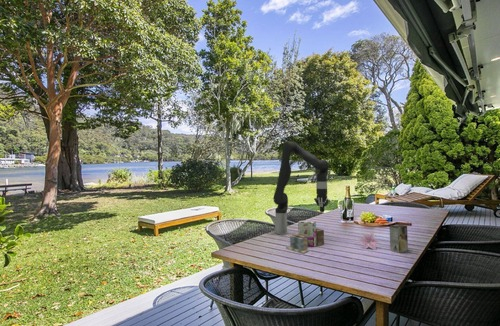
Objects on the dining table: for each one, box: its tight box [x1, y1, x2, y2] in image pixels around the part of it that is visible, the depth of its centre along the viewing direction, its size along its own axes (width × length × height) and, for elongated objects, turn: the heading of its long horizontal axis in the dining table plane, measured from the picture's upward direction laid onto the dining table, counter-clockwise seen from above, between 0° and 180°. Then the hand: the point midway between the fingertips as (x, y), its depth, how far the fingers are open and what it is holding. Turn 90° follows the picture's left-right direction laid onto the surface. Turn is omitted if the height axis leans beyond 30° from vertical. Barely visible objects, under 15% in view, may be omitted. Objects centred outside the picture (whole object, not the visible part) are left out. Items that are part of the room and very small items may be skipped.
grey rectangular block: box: [285, 233, 310, 255], centre depth 193 cm, size 15×27×10 cm, turn 128°
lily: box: [357, 231, 380, 251], centre depth 188 cm, size 12×12×10 cm
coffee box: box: [389, 223, 409, 254], centre depth 181 cm, size 9×6×16 cm
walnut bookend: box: [315, 227, 325, 247], centre depth 196 cm, size 12×6×10 cm, turn 37°
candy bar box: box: [297, 220, 317, 248], centre depth 192 cm, size 11×5×16 cm, turn 57°
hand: (322, 212), depth 202 cm, fingers closed
